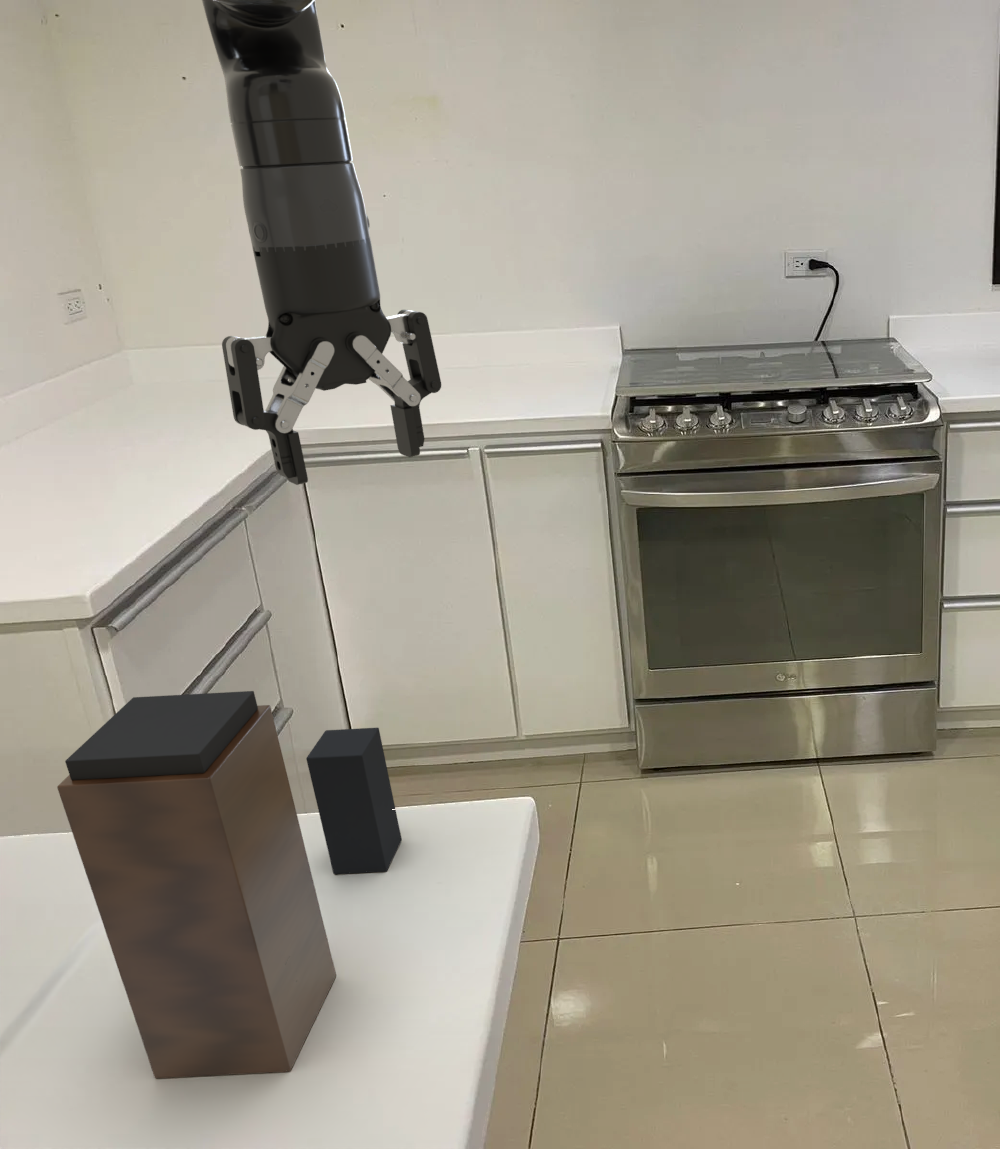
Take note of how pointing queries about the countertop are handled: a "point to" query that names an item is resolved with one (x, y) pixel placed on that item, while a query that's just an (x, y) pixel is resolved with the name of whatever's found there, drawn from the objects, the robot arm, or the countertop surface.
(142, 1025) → the block
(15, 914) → the countertop surface
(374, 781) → the foam block
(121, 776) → the rubber pad
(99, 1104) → the countertop surface
